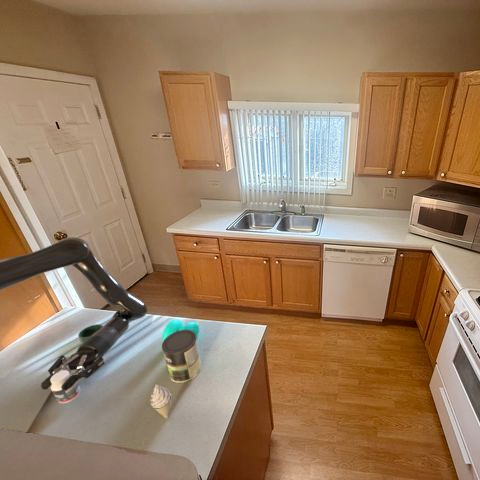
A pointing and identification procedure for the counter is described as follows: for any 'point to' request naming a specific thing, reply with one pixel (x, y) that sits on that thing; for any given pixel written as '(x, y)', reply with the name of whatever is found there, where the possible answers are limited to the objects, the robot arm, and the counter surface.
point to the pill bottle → (56, 384)
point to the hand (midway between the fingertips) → (53, 388)
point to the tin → (88, 332)
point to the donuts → (179, 328)
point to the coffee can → (182, 355)
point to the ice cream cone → (161, 400)
